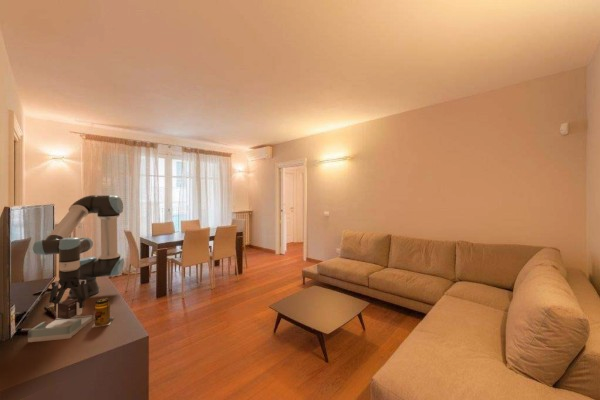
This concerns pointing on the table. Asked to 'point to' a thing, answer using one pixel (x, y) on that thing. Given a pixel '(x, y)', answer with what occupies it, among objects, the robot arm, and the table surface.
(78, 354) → the table surface
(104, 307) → the condiment
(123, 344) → the table surface
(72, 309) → the box
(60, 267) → the robot arm
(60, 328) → the tray
